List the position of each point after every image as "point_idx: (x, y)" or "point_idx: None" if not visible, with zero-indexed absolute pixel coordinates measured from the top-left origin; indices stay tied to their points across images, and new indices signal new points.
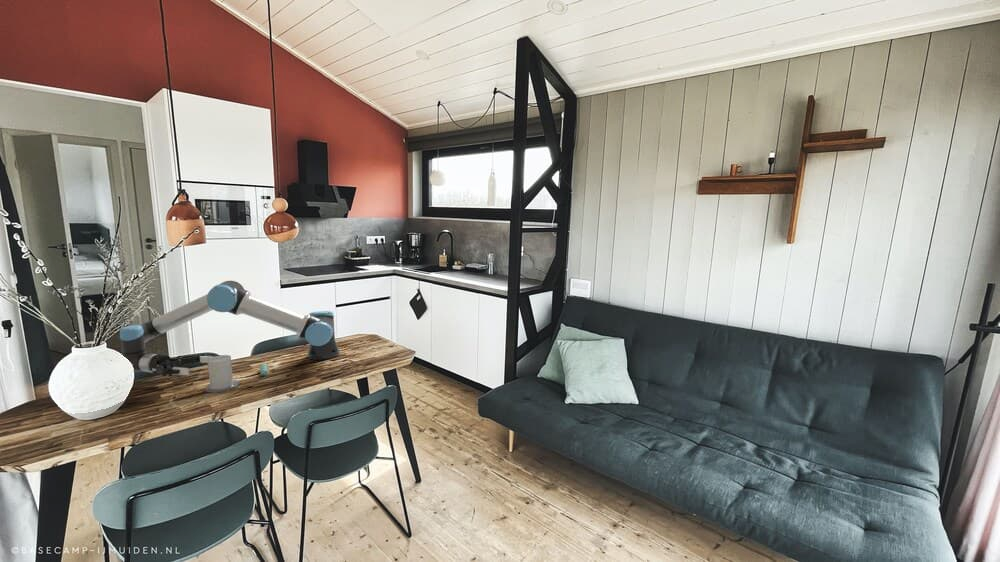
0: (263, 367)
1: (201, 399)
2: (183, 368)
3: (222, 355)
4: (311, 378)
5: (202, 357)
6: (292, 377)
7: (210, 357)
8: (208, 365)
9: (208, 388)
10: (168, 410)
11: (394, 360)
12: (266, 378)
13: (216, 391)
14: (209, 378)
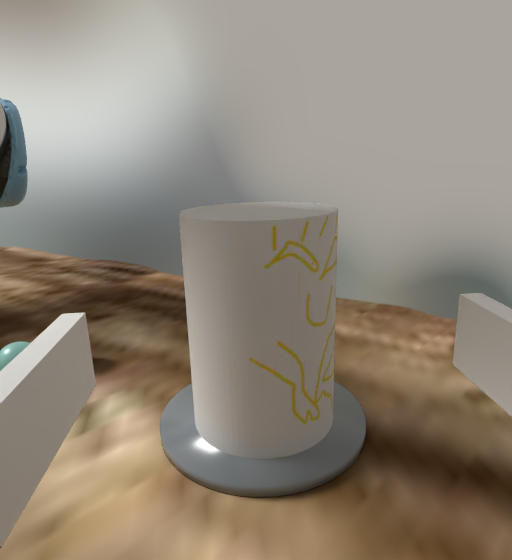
0: (29, 343)
1: (448, 400)
2: (508, 307)
3: (190, 214)
4: (141, 283)
5: (9, 407)
6: (125, 306)
7: (72, 330)
8: (333, 252)
9: (333, 444)
10: None
11: (27, 248)
12: (126, 345)
13: (345, 389)
14: (326, 364)
